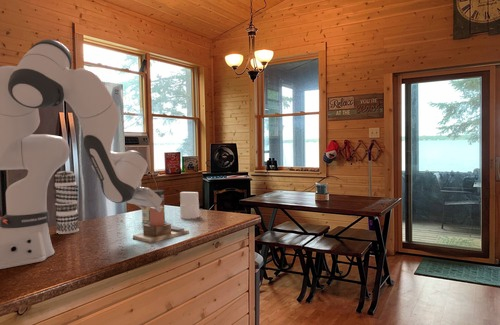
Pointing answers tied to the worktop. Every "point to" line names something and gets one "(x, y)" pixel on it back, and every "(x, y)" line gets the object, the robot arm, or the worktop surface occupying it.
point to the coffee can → (147, 211)
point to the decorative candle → (66, 202)
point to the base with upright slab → (189, 205)
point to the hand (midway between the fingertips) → (152, 209)
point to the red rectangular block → (156, 217)
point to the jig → (159, 232)
